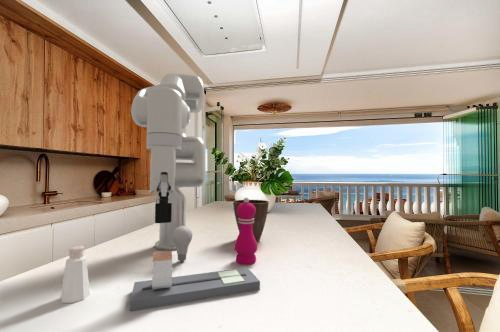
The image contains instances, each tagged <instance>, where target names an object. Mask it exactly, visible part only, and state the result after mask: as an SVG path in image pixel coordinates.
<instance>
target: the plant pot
mask: <svg viewBox="0 0 500 332" xmlns="http://www.w3.org/2000/svg"><path fill="white" fill-rule="evenodd" d="M269 202H270V201H269V200H262V199H249V202H248V203H251V204H253V205H254V206H255V209H256V213H255V215H254V216H253V218H254V223H253V226H252V230H253V234H254V237H255V239H256V242H257V243H258V242H260V240H261V237H262V236H263V232H264V228H265V225H266V220H267V216H268V210H269V205H270V203H269ZM232 203H233V212H234V216H235V221H236V226H237V230H238V233H239V232H240V223H239V222H238V221H239V220H238V218H240V217H239V216H238V214H237V207H238V206H239V205H240V204H241V203H244V199H237V200H233V201H232Z"/></svg>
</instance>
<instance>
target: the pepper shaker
mask: <svg viewBox="0 0 500 332" xmlns="http://www.w3.org/2000/svg"><path fill="white" fill-rule="evenodd" d="M84 250H85V246H83V245H76V246H75V245H74V246H72V247H70V248H69V249H68V251H69V253H68V256H69V257H68V258H67V259H66V261H65V265H64V266H65V267H64V273H63V280H62V286H61V293H60V298H59V299H60V301H61V303H62V304H73V303H77V302H80V301H84V300H85V299H86V298H87V297H89V296H90V295H91V293H90V283H89V271H88V262H87V257H86V256H85V255H84V253H85V252H84Z"/></svg>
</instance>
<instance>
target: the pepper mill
mask: <svg viewBox="0 0 500 332" xmlns="http://www.w3.org/2000/svg"><path fill="white" fill-rule="evenodd" d="M243 200H244V203H241V204H240V205H239V206H238V207H237V214H238V216H239V217H240V218H238V220H239V221H238V222H239V223H240V232H239V231H238V236H237V238H236V240H235V242H234V251H235V253H236V255H235V262H236V263H237V264H239V265H245V266H246V265H247V266H248V265H253V264H255V263H256V262H257V255H256V253H257V251H258V241H257V242H256V239H255V237H254V234H253V230H252V226H253V223H254V218H253V216H254V215H255V213H256V209H255V206H254V205H253V204H251V203H248V202H249V200H250V198H248V197H244V199H243Z"/></svg>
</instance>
